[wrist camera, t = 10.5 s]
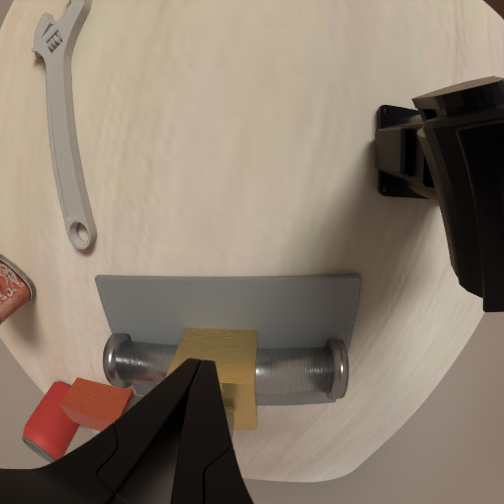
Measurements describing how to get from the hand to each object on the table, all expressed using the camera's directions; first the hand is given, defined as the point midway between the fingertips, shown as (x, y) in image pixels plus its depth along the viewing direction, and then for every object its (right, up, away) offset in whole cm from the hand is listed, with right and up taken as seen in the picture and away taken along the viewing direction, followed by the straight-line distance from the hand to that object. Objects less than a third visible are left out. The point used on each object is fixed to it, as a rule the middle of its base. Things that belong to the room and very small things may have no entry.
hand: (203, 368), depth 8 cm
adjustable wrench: (-15, +16, +9) cm, 24 cm away
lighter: (-26, +1, +15) cm, 30 cm away
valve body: (-1, -5, +16) cm, 17 cm away
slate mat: (-1, -5, +16) cm, 17 cm away
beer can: (-25, -18, +22) cm, 38 cm away
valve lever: (-6, -8, +10) cm, 14 cm away
